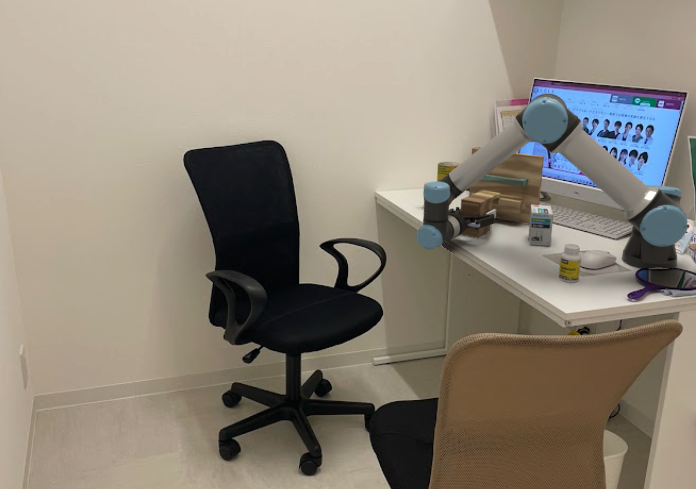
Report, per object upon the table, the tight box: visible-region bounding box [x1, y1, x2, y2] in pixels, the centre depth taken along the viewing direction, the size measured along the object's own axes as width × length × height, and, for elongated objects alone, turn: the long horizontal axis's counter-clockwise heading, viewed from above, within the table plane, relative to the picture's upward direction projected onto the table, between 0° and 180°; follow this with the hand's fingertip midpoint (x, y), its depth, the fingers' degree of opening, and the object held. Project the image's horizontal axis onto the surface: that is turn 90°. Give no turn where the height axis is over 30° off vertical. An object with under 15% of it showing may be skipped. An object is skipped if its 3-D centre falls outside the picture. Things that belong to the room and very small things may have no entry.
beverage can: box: [436, 161, 461, 182], centre depth 285 cm, size 9×9×12 cm
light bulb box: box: [528, 204, 554, 247], centre depth 226 cm, size 11×7×11 cm, turn 168°
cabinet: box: [460, 190, 500, 239], centre depth 236 cm, size 16×7×12 cm, turn 144°
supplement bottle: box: [558, 243, 582, 283], centre depth 194 cm, size 5×5×10 cm
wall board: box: [468, 147, 545, 225], centre depth 247 cm, size 11×26×24 cm, turn 54°
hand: (482, 211), depth 237 cm, fingers open, 9 cm apart
